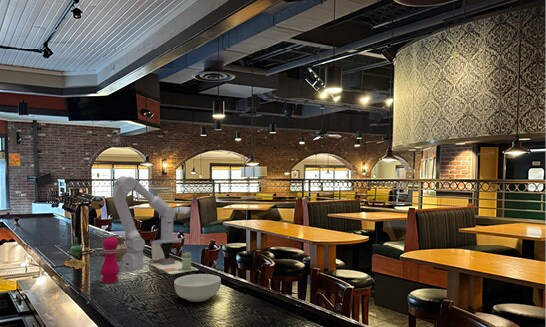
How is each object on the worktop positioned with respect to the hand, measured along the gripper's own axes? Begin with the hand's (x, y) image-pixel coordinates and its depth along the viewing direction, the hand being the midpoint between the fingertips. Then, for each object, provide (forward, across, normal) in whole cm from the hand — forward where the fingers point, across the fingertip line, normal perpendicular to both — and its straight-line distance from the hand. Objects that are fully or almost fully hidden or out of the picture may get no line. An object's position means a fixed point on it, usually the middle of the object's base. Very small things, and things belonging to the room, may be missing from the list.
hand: (166, 258), depth 202 cm
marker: (+2, +2, -17) cm, 17 cm away
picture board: (+3, 0, -8) cm, 9 cm away
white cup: (+4, +1, +12) cm, 13 cm away
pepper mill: (+4, -31, -14) cm, 34 cm away
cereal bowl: (+4, -12, -55) cm, 57 cm away
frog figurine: (+4, -36, +26) cm, 44 cm away
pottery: (+4, -14, +33) cm, 36 cm away
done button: (+2, 0, 0) cm, 2 cm away
